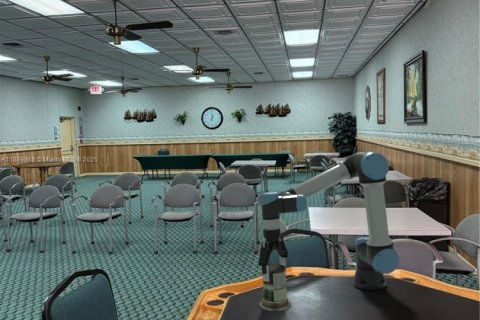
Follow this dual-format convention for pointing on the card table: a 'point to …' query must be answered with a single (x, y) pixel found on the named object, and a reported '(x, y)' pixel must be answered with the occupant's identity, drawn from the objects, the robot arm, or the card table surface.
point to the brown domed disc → (275, 305)
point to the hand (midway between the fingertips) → (274, 276)
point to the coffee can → (275, 284)
